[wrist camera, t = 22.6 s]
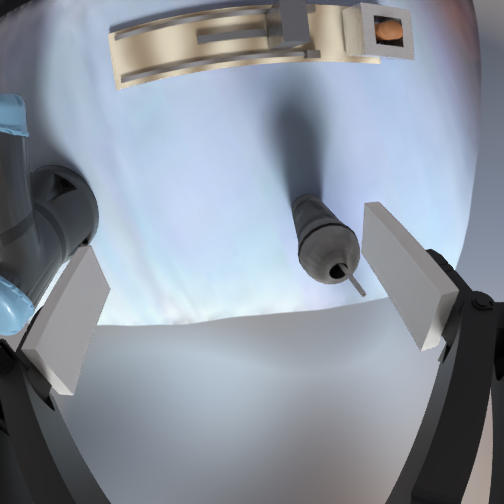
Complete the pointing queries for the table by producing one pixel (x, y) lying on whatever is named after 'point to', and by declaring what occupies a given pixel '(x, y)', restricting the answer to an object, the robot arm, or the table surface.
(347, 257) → the beverage cup
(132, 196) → the table surface
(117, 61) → the board
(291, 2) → the grey l-shaped block
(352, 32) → the link
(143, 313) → the table surface
